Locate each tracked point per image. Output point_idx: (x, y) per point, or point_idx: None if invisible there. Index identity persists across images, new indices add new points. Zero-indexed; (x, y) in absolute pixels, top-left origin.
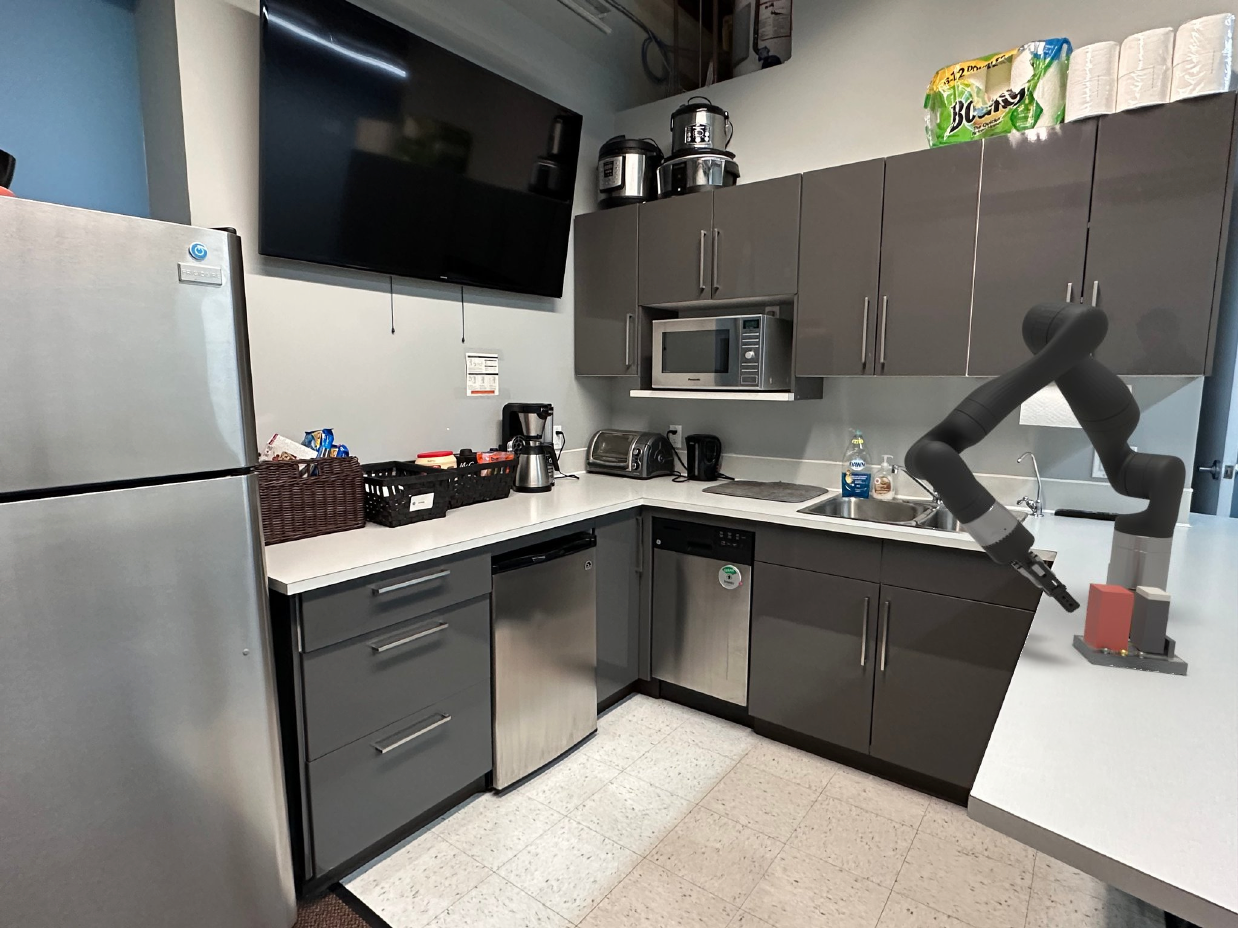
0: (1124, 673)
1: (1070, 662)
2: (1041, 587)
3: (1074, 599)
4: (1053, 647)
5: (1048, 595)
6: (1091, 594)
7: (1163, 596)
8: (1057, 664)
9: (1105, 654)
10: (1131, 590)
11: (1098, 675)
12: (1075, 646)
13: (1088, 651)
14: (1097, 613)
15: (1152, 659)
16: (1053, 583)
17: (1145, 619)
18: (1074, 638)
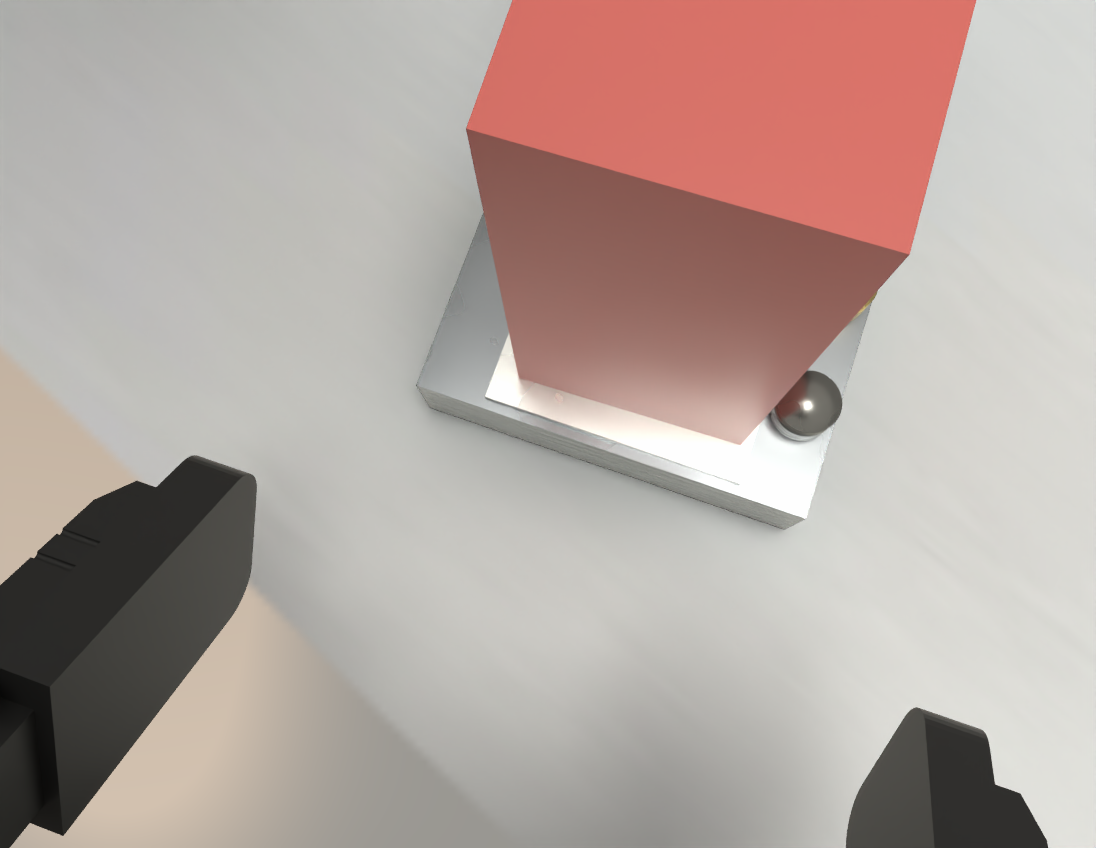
0: (937, 407)
1: (758, 687)
2: (143, 718)
3: (999, 831)
4: (467, 605)
5: (230, 614)
6: (565, 225)
7: None
8: (800, 834)
9: (829, 436)
10: None
11: (987, 641)
12: (478, 422)
13: (714, 493)
14: (756, 350)
15: None
16: (174, 553)
17: None
18: (441, 400)
